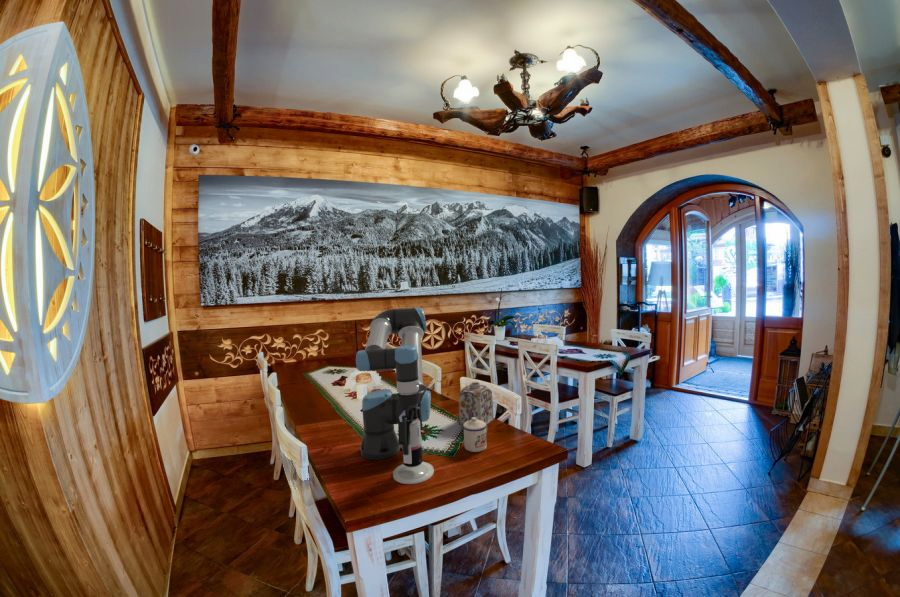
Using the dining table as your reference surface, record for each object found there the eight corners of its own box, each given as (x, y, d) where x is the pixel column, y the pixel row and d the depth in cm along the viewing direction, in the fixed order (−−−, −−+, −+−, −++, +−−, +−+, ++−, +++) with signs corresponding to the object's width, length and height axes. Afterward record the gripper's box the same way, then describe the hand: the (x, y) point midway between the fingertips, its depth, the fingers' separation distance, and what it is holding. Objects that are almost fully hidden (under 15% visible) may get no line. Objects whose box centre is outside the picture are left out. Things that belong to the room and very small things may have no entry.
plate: (385, 480, 124) (385, 478, 124) (404, 460, 137) (404, 459, 137) (423, 486, 119) (423, 484, 119) (439, 465, 133) (439, 463, 133)
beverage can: (406, 470, 124) (403, 425, 123) (401, 461, 130) (398, 419, 129) (425, 465, 126) (422, 421, 126) (418, 457, 132) (416, 415, 132)
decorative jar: (473, 415, 179) (471, 378, 178) (494, 420, 172) (492, 381, 171) (458, 424, 169) (456, 385, 168) (481, 429, 162) (478, 388, 161)
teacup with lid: (477, 454, 139) (476, 424, 138) (459, 448, 145) (457, 419, 144) (496, 443, 148) (494, 414, 147) (478, 437, 154) (476, 409, 153)
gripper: (405, 401, 116) (409, 473, 118) (429, 384, 135) (433, 446, 136) (384, 400, 119) (388, 470, 120) (411, 383, 137) (414, 444, 138)
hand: (412, 457), depth 128 cm, fingers closed on beverage can, 6 cm apart
